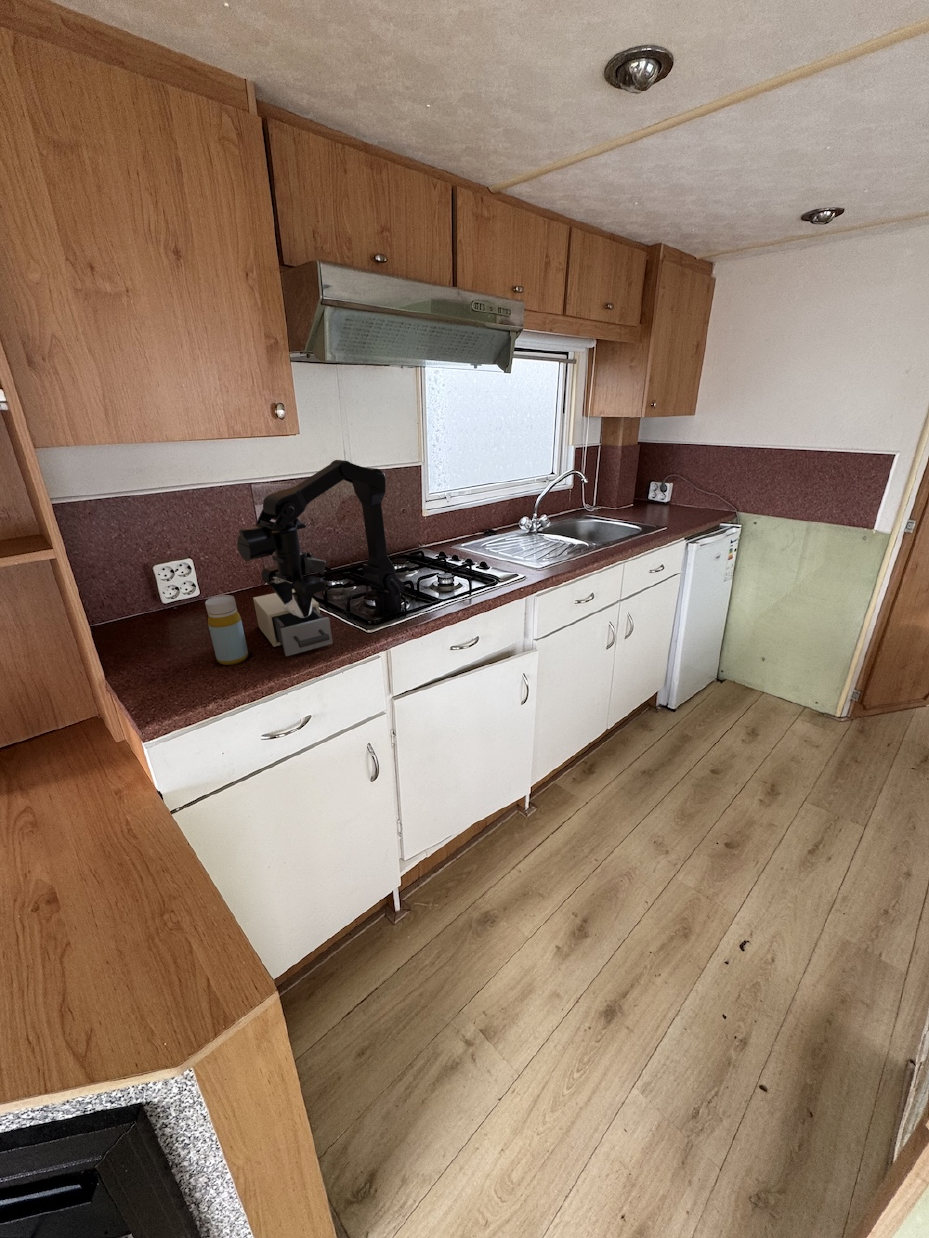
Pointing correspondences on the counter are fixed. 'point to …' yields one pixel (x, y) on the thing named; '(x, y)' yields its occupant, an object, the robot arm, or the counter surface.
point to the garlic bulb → (295, 608)
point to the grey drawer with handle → (302, 632)
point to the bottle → (226, 630)
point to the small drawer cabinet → (272, 613)
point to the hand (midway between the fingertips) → (298, 612)
